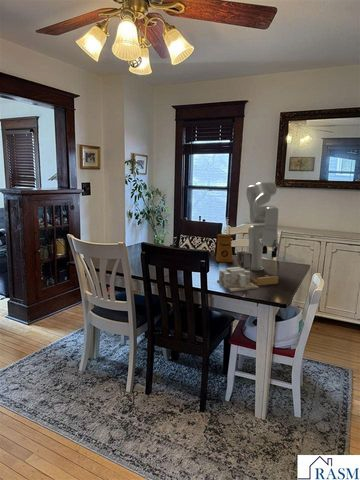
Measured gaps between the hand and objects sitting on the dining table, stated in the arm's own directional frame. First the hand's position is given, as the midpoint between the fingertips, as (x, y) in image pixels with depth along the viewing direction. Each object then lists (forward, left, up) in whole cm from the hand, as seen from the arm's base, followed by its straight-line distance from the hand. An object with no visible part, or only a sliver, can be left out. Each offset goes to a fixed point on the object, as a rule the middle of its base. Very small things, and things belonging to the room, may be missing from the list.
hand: (269, 255), depth 201 cm
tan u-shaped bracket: (-5, 0, -18) cm, 19 cm away
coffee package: (-59, 0, -18) cm, 62 cm away
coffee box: (-19, -6, -18) cm, 27 cm away
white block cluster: (-4, -19, -18) cm, 27 cm away
